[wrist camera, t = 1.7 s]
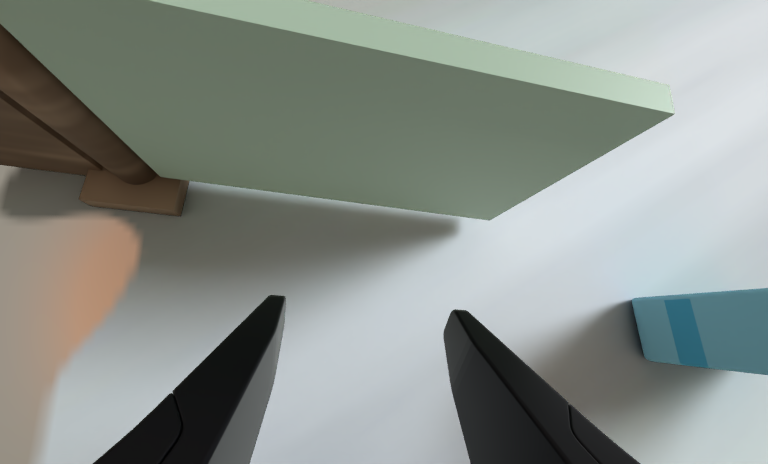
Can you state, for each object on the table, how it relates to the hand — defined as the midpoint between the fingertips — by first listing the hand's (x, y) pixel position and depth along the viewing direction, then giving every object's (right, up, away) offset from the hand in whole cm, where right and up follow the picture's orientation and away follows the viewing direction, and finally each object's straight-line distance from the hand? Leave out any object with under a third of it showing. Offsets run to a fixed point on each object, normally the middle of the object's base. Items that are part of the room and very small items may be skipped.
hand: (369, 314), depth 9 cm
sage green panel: (-2, +6, +13) cm, 15 cm away
